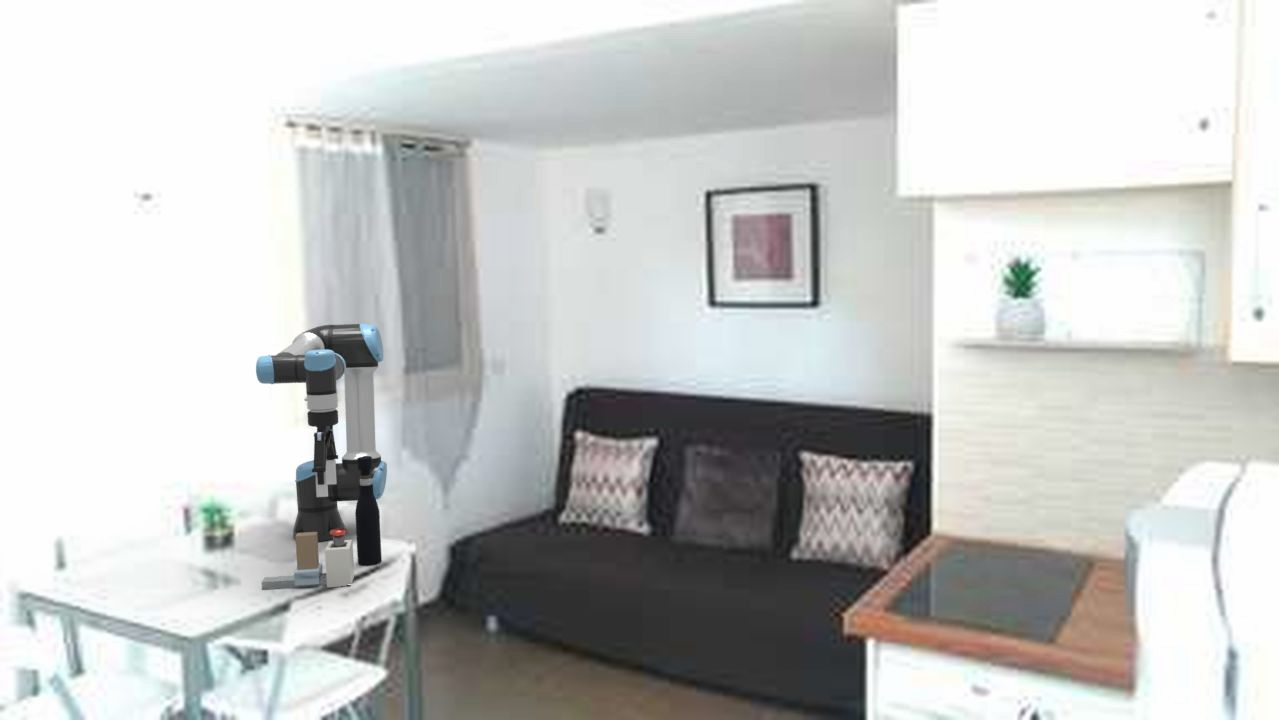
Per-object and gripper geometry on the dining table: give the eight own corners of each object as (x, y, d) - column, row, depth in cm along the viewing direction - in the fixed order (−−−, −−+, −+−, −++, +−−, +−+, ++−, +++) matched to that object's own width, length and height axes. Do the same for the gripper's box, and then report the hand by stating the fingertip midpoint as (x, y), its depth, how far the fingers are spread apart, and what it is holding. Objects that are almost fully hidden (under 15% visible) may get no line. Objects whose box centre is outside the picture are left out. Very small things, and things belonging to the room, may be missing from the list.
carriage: (299, 576, 261) (296, 531, 260) (322, 575, 262) (320, 529, 261) (294, 585, 254) (292, 538, 253) (318, 583, 256) (316, 537, 254)
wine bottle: (357, 567, 272) (352, 460, 268) (357, 560, 278) (352, 455, 274) (381, 564, 273) (376, 458, 270) (381, 557, 280) (376, 454, 276)
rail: (265, 584, 259) (264, 577, 258) (330, 580, 261) (329, 572, 261) (261, 589, 255) (261, 582, 254) (328, 585, 257) (327, 577, 257)
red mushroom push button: (332, 554, 261) (331, 528, 260) (348, 553, 261) (346, 527, 261) (330, 558, 257) (329, 532, 256) (346, 557, 257) (345, 531, 257)
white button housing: (331, 577, 263) (329, 541, 262) (354, 575, 264) (352, 539, 263) (327, 587, 255) (325, 550, 254) (350, 585, 256) (349, 548, 255)
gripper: (316, 403, 266) (320, 480, 268) (298, 418, 241) (302, 502, 244) (344, 402, 267) (348, 478, 269) (329, 417, 242) (334, 501, 245)
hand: (326, 490), depth 257 cm, fingers open, 13 cm apart
